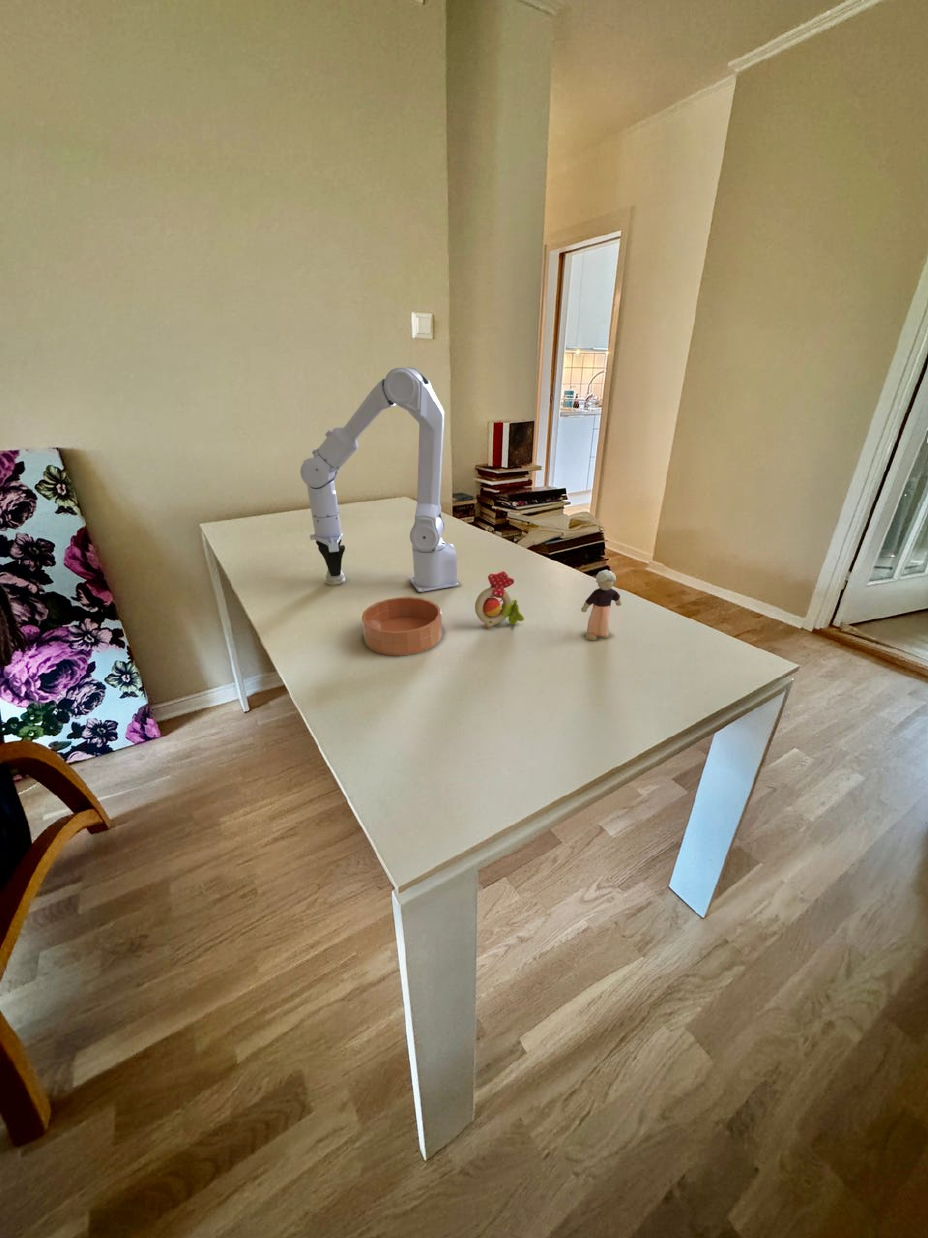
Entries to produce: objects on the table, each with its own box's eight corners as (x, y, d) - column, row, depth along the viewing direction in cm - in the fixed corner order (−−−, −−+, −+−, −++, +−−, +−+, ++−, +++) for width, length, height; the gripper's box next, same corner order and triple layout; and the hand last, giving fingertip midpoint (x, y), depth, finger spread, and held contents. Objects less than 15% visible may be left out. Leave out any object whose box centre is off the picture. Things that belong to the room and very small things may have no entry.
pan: (428, 612, 97) (427, 592, 95) (452, 645, 85) (452, 623, 83) (358, 625, 92) (355, 604, 90) (373, 662, 81) (370, 639, 78)
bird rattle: (496, 644, 89) (535, 617, 91) (474, 599, 83) (516, 571, 85) (481, 629, 94) (517, 604, 96) (459, 586, 88) (498, 560, 90)
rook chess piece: (349, 580, 112) (345, 547, 109) (335, 587, 109) (330, 553, 105) (336, 576, 115) (331, 544, 111) (321, 583, 111) (316, 550, 108)
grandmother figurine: (589, 644, 84) (597, 578, 79) (575, 635, 87) (582, 570, 82) (622, 634, 88) (632, 569, 82) (607, 625, 91) (616, 562, 85)
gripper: (303, 508, 109) (313, 564, 115) (309, 525, 97) (320, 586, 103) (335, 505, 111) (342, 560, 118) (344, 520, 99) (353, 581, 106)
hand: (334, 572), depth 111 cm, fingers closed on rook chess piece, 3 cm apart
